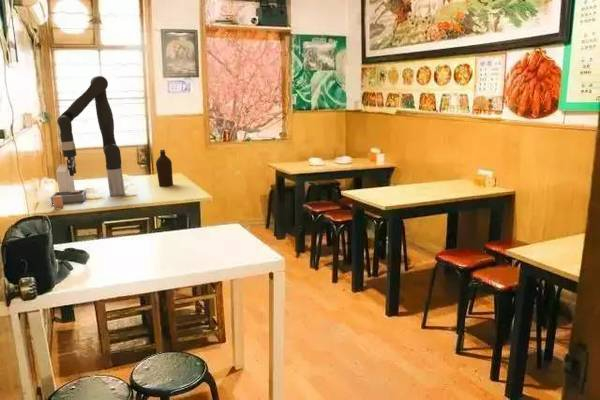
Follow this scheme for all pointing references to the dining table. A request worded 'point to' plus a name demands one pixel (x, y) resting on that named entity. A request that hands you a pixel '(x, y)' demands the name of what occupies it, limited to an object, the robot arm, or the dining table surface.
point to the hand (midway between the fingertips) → (73, 174)
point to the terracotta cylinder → (58, 201)
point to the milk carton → (64, 179)
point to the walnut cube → (75, 192)
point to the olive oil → (164, 170)
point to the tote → (70, 197)
